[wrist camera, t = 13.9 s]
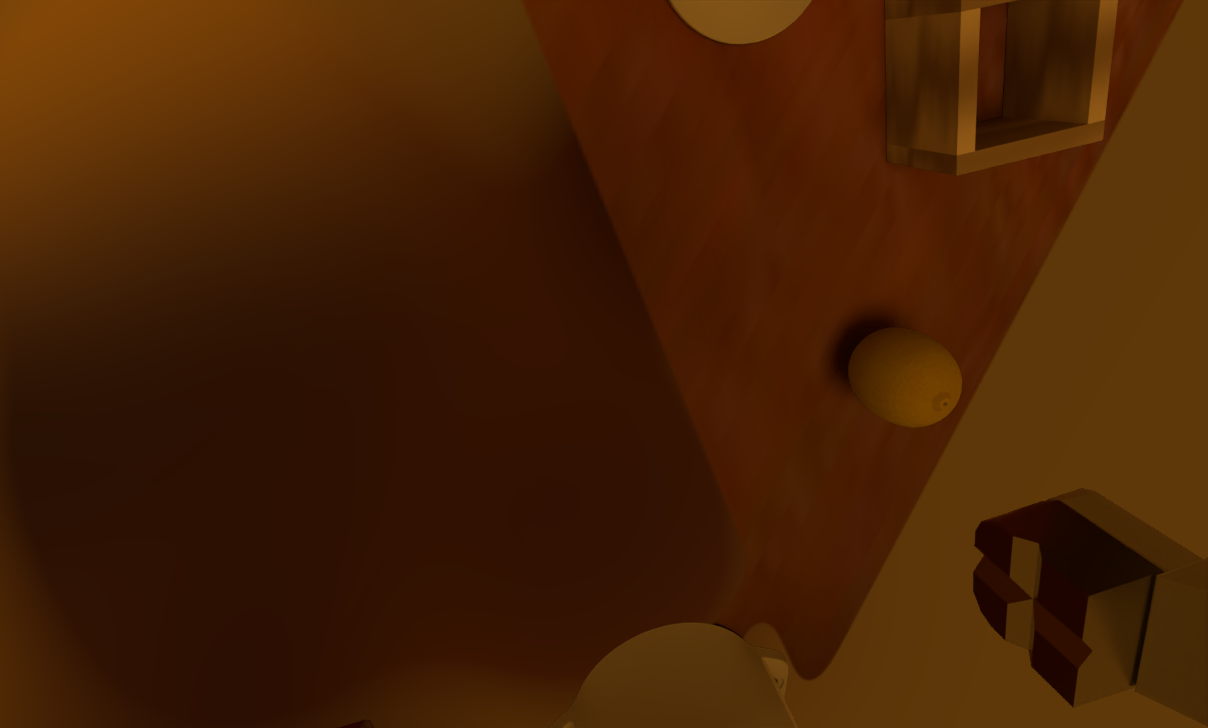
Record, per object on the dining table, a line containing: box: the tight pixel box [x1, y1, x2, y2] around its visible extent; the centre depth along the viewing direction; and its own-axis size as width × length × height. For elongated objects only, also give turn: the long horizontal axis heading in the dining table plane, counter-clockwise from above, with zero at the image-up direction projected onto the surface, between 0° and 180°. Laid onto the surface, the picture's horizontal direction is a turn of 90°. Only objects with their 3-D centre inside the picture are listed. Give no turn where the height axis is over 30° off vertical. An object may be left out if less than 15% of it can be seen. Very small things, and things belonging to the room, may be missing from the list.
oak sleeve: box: [885, 0, 1118, 176], centre depth 37 cm, size 8×8×6 cm
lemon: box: [848, 327, 962, 427], centre depth 42 cm, size 6×6×8 cm
